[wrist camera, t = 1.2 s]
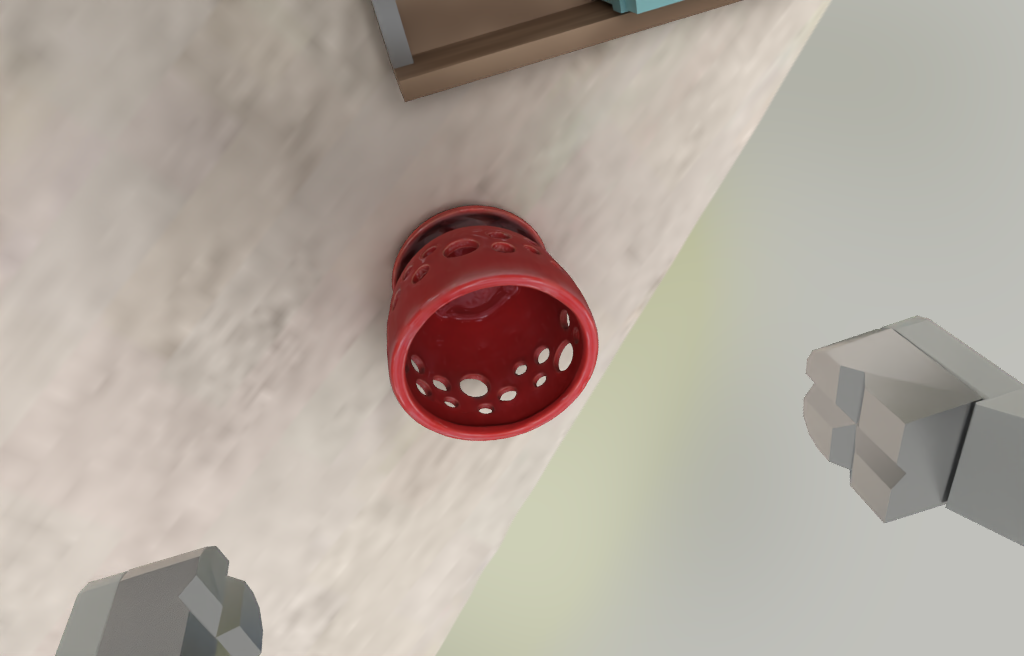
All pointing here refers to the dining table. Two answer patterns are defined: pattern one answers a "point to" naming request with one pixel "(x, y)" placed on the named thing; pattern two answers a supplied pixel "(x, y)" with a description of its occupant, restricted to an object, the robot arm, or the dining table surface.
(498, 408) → the plant pot
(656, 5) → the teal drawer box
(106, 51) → the dining table surface
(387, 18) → the bay
